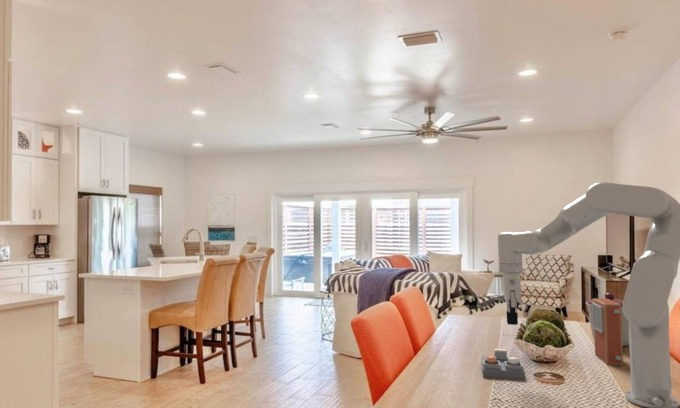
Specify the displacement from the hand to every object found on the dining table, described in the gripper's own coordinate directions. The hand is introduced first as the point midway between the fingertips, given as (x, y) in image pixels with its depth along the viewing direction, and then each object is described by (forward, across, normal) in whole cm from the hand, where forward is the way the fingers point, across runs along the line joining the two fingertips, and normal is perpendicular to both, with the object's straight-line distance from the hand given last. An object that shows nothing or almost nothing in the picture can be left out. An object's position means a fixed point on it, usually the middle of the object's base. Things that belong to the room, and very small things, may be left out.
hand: (512, 323), depth 157 cm
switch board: (+17, +4, +4) cm, 18 cm away
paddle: (+15, +9, +3) cm, 18 cm away
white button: (+13, 0, 0) cm, 13 cm away
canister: (+17, +52, -43) cm, 70 cm away
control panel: (+17, +26, -35) cm, 47 cm away
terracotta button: (+13, 0, +7) cm, 15 cm away
